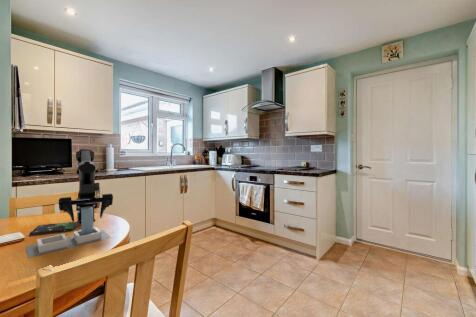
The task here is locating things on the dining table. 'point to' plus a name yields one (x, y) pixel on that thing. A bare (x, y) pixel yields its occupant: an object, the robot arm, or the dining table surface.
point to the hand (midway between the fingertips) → (87, 219)
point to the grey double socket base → (64, 242)
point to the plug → (87, 220)
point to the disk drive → (53, 228)
